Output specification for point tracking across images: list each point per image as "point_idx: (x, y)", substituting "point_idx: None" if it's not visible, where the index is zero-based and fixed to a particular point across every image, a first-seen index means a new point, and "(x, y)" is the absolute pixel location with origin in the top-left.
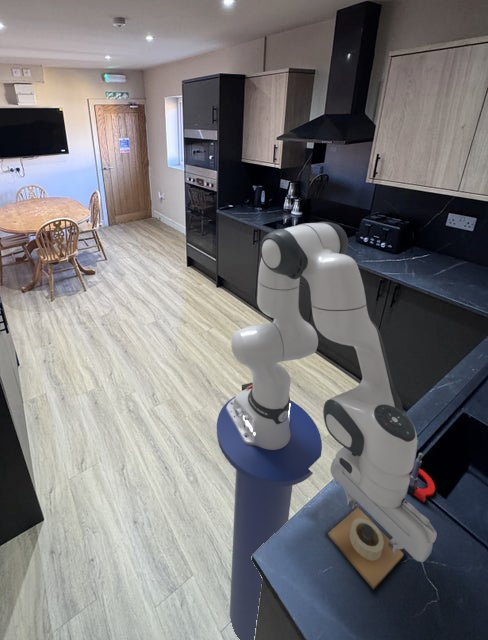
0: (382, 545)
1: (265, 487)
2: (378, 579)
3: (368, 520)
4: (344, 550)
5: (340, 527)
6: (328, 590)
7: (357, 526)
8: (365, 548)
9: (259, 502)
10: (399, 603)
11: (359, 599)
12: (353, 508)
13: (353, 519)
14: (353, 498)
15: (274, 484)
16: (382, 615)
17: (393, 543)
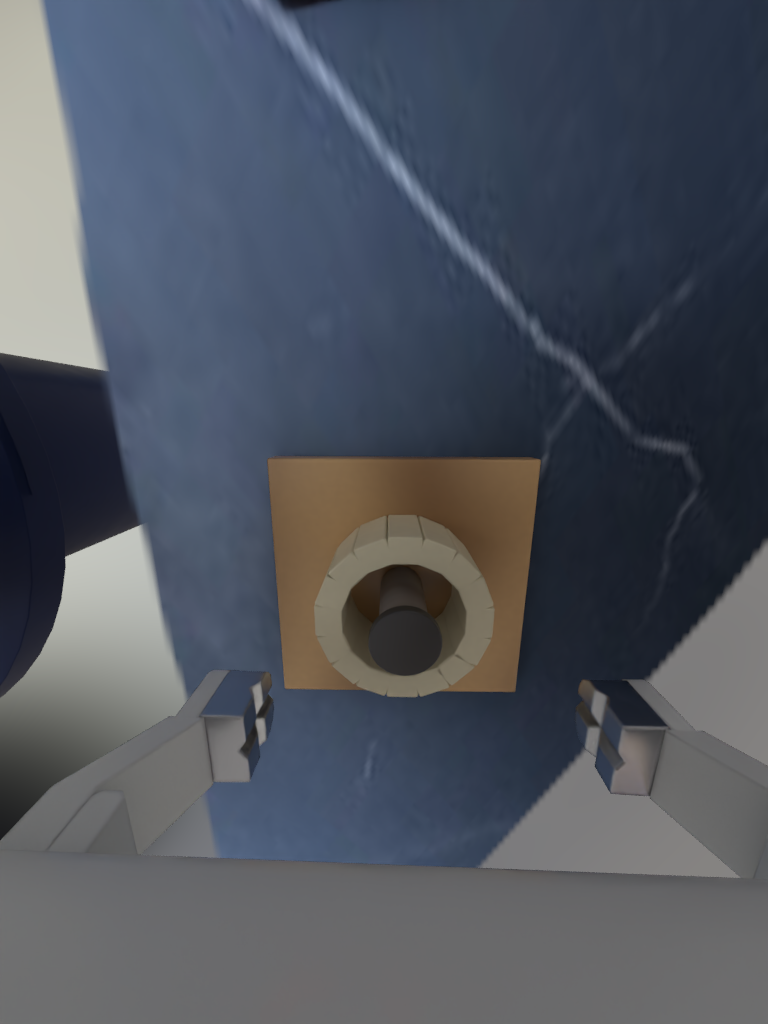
0: (486, 600)
1: (79, 538)
2: (513, 658)
3: (345, 474)
4: None
5: (295, 629)
6: (413, 799)
7: (344, 617)
8: (439, 690)
9: (127, 525)
10: (592, 632)
11: (491, 738)
12: (269, 716)
13: (301, 540)
14: (205, 740)
15: (32, 655)
16: (565, 711)
17: (648, 781)
